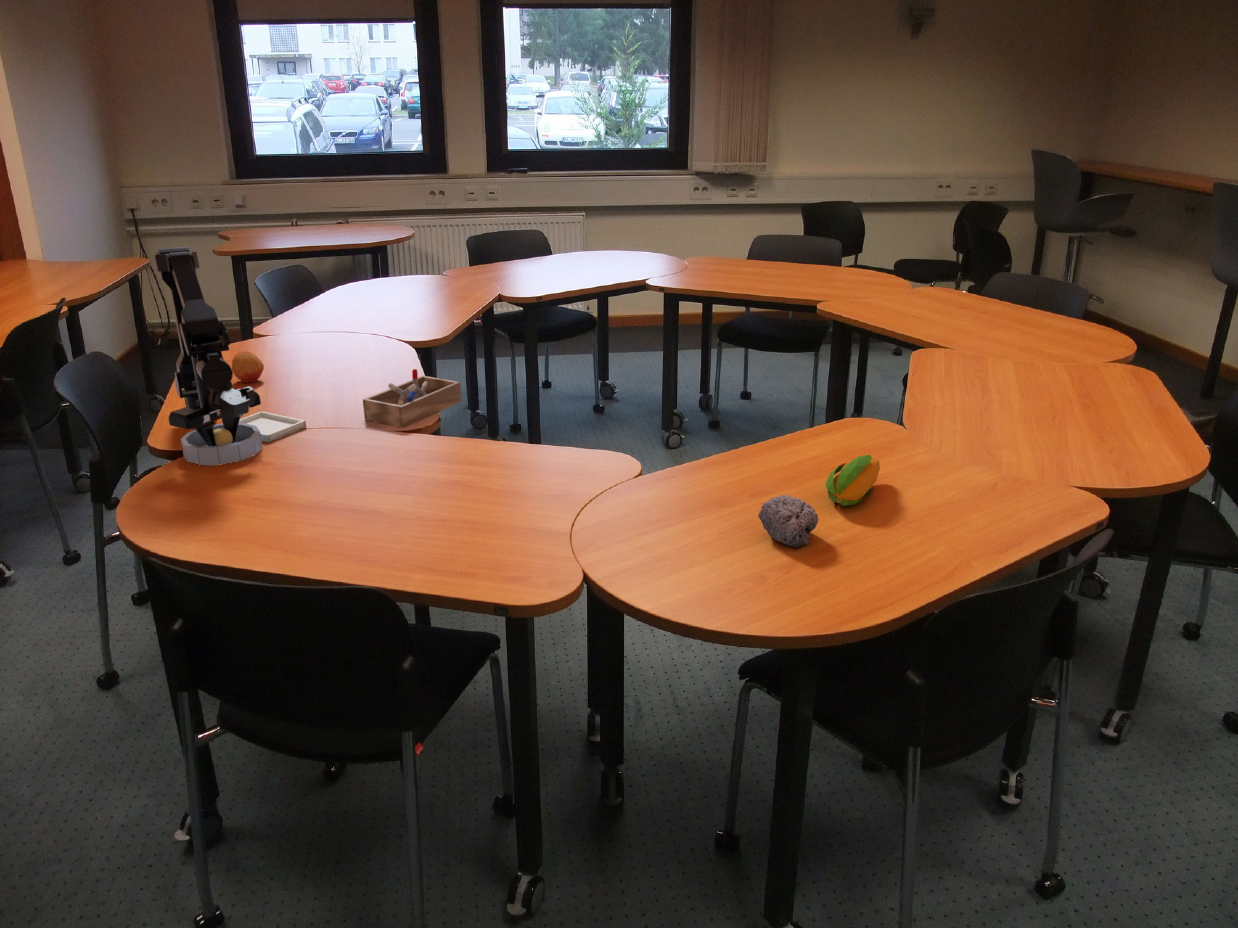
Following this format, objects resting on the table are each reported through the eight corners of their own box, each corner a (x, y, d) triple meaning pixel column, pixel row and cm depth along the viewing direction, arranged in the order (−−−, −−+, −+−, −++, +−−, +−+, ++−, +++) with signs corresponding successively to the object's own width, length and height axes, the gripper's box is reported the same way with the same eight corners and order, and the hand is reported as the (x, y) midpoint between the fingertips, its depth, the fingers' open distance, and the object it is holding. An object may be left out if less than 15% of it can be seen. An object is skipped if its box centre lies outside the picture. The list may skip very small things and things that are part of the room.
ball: (207, 449, 191) (203, 430, 189) (224, 443, 194) (221, 424, 193) (221, 453, 189) (218, 433, 187) (238, 446, 192) (235, 427, 191)
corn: (820, 469, 164) (859, 437, 179) (813, 507, 167) (853, 472, 182) (859, 481, 160) (895, 447, 175) (852, 519, 163) (888, 483, 178)
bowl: (169, 457, 189) (165, 440, 188) (228, 435, 201) (225, 419, 200) (218, 470, 182) (215, 453, 181) (276, 446, 195) (274, 430, 193)
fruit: (268, 376, 243) (264, 347, 240) (261, 385, 236) (257, 355, 233) (238, 377, 242) (233, 348, 239) (230, 386, 235) (225, 356, 232)
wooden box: (364, 419, 211) (362, 399, 209) (424, 394, 228) (422, 375, 227) (403, 427, 206) (401, 407, 204) (461, 401, 223) (459, 382, 222)
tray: (224, 431, 203) (223, 425, 203) (262, 417, 212) (261, 411, 212) (268, 442, 197) (267, 435, 196) (306, 427, 206) (305, 420, 205)
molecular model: (415, 424, 208) (421, 382, 205) (380, 415, 209) (386, 374, 206) (438, 407, 225) (444, 368, 222) (405, 398, 225) (411, 360, 222)
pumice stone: (821, 561, 152) (810, 521, 160) (829, 527, 148) (817, 488, 155) (760, 560, 152) (752, 520, 160) (766, 527, 147) (758, 487, 155)
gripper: (198, 394, 174) (211, 468, 180) (273, 369, 190) (284, 439, 196) (160, 385, 179) (174, 458, 185) (236, 362, 194) (247, 430, 200)
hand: (222, 446), depth 191 cm, fingers closed on ball, 4 cm apart
